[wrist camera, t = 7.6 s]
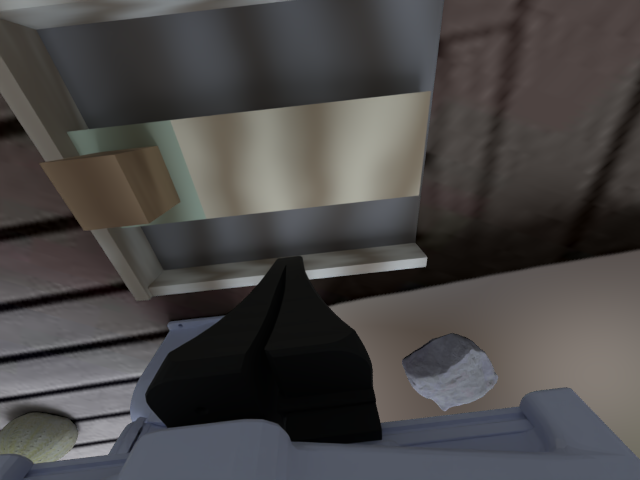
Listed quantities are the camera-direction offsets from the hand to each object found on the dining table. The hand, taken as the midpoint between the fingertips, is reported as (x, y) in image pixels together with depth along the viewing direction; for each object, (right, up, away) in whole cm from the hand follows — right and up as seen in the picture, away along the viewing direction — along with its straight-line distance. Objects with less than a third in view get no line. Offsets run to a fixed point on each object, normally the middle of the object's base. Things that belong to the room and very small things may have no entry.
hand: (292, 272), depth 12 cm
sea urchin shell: (-40, -27, +23) cm, 54 cm away
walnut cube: (-11, +6, +4) cm, 14 cm away
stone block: (+20, -16, +21) cm, 33 cm away
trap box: (-3, +8, +6) cm, 11 cm away
